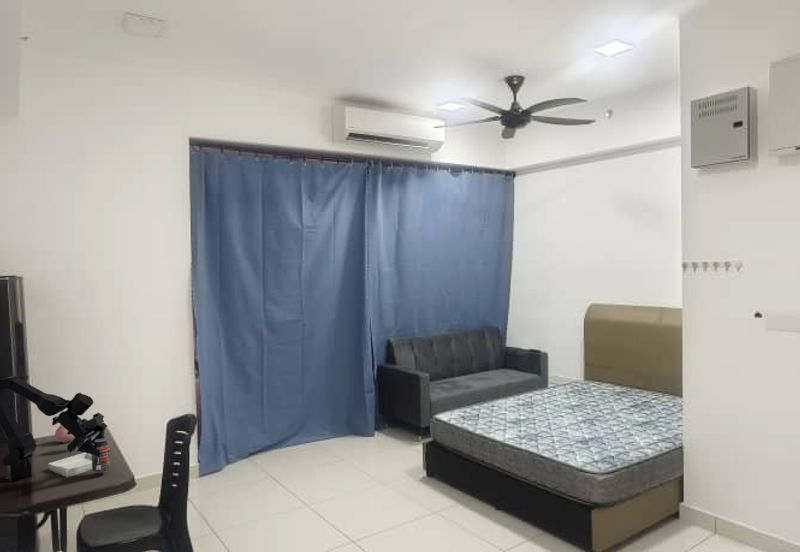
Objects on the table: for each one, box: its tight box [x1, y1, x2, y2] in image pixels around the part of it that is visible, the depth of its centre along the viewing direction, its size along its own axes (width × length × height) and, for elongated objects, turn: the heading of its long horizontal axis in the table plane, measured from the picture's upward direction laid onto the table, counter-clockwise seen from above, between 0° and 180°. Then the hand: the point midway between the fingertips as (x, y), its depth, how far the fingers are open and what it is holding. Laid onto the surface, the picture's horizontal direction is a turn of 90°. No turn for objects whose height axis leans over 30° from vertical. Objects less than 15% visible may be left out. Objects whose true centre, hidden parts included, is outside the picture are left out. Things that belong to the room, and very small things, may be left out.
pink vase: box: [54, 424, 75, 444], centre depth 243 cm, size 8×8×12 cm
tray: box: [48, 452, 92, 478], centre depth 212 cm, size 15×15×2 cm
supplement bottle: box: [92, 438, 111, 473], centre depth 203 cm, size 6×6×11 cm
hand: (104, 452), depth 203 cm, fingers closed on supplement bottle, 6 cm apart
